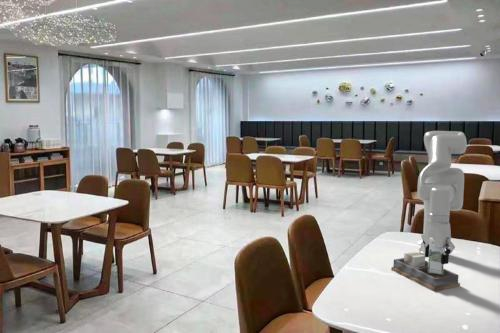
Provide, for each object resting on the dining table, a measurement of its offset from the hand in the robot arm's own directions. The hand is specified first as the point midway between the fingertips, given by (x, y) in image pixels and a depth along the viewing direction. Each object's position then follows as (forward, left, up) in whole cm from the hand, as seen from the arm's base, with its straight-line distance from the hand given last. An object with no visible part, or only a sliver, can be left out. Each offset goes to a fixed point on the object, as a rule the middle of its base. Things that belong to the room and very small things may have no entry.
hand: (436, 260), depth 180 cm
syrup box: (0, 0, -5) cm, 5 cm away
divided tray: (-6, 0, -10) cm, 11 cm away
